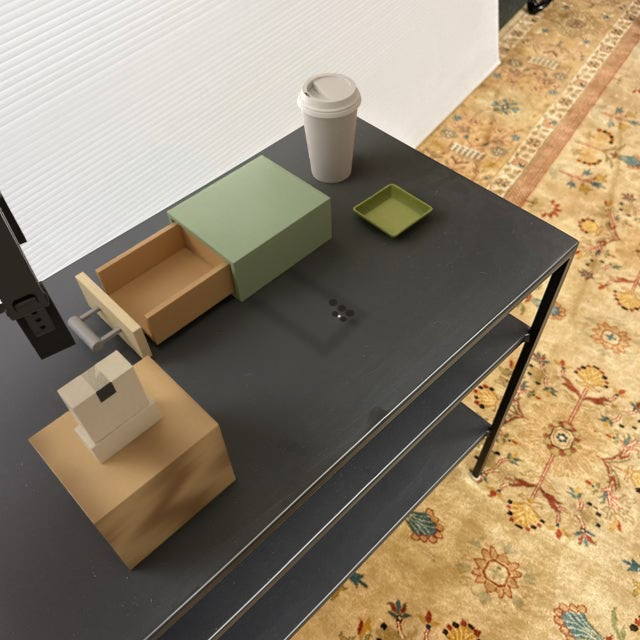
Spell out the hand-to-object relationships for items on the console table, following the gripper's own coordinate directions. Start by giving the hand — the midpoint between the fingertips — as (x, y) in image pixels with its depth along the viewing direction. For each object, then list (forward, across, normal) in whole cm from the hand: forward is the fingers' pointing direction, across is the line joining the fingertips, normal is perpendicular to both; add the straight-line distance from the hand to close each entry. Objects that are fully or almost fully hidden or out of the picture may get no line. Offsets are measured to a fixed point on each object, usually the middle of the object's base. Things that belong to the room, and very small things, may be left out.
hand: (32, 293), depth 53 cm
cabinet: (+28, +22, -29) cm, 45 cm away
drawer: (+27, +18, -11) cm, 34 cm away
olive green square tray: (+28, +15, -49) cm, 58 cm away
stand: (+27, -6, -1) cm, 28 cm away
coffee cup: (+28, +30, -47) cm, 63 cm away
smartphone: (+28, +9, -28) cm, 41 cm away
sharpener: (+15, -6, -1) cm, 16 cm away
